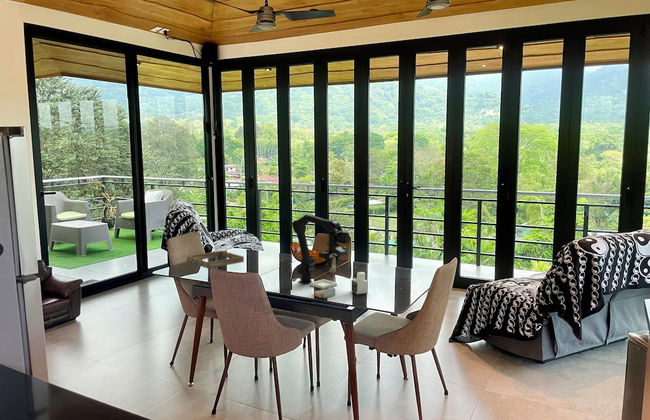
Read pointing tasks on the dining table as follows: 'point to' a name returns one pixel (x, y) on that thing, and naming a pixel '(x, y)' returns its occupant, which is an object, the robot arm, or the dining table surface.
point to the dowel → (333, 265)
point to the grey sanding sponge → (328, 292)
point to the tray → (323, 284)
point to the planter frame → (198, 261)
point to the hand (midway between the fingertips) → (332, 267)
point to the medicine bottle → (359, 283)
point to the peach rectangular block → (319, 293)
